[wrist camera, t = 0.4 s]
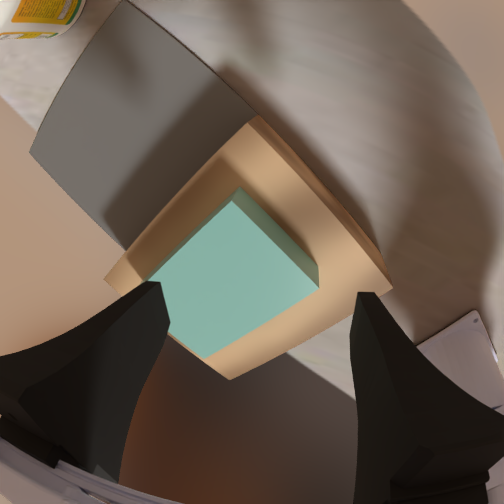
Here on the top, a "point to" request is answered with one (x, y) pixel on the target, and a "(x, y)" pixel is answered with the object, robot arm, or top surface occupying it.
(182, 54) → the mat
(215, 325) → the mint green block
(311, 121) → the top surface
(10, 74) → the top surface
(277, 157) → the wooden block
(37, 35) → the supplement bottle
